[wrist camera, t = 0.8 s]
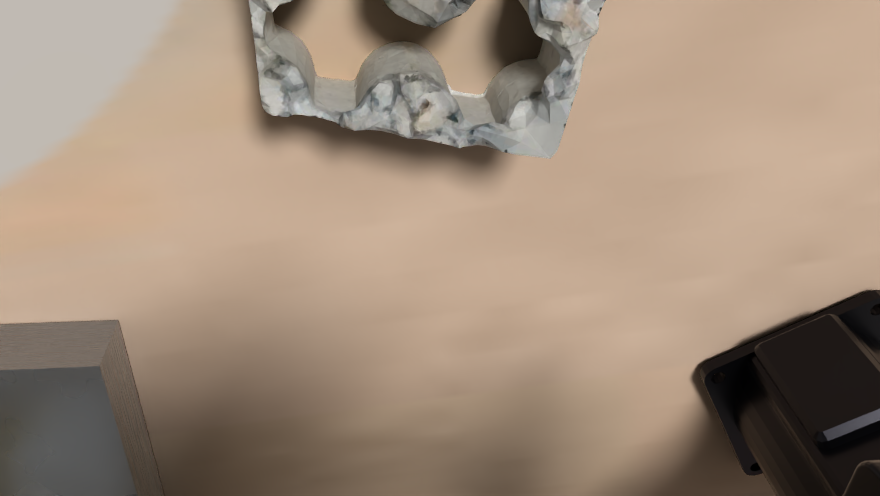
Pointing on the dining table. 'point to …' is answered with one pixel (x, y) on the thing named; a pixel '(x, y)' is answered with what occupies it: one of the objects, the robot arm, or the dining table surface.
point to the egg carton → (435, 80)
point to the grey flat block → (71, 413)
